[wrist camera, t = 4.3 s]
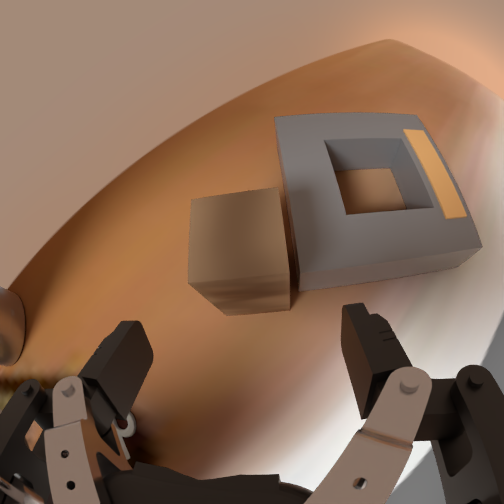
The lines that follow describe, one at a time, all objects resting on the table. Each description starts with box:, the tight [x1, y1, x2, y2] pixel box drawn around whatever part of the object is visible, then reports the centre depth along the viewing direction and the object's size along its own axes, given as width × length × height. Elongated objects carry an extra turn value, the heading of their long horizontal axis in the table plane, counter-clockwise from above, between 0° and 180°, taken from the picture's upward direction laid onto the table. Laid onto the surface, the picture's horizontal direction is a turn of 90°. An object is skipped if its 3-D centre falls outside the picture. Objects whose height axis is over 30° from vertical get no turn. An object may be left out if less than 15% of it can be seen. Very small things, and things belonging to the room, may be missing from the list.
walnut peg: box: [188, 187, 290, 316], centre depth 16 cm, size 4×4×8 cm
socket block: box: [274, 113, 482, 292], centre depth 19 cm, size 14×14×4 cm
